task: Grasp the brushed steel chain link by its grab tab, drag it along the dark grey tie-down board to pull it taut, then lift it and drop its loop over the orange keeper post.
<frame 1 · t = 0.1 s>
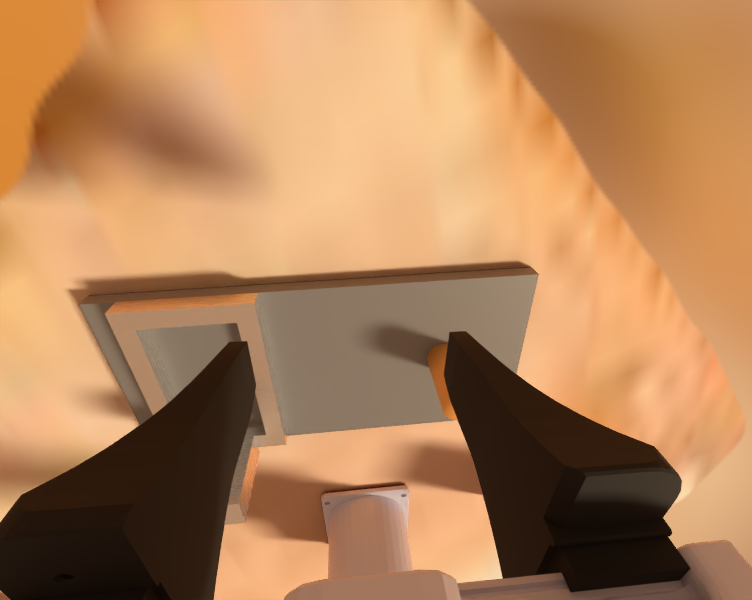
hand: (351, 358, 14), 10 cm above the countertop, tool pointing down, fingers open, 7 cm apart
steel link: (213, 375, 25), point 1 cm above the countertop, touching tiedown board
keeper post: (440, 347, 27), resting on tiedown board
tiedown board: (327, 359, 26), on the countertop
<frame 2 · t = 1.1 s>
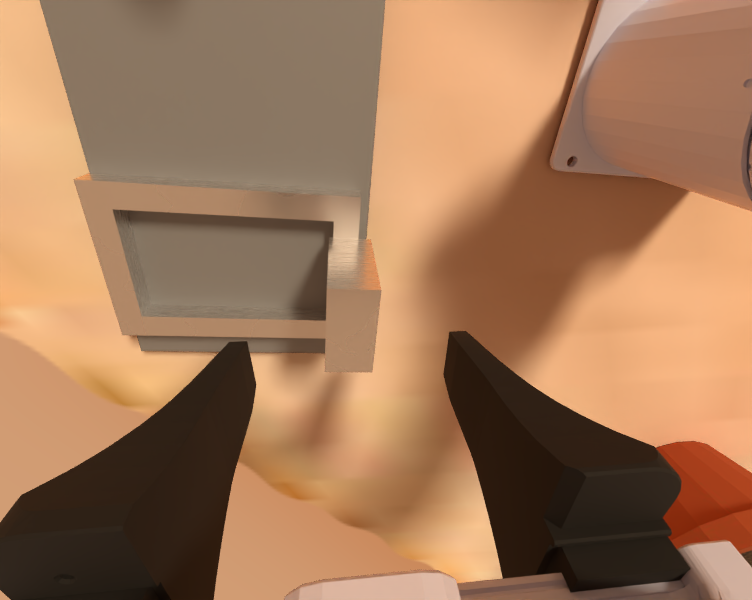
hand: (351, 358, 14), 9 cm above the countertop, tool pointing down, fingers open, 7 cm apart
steel link: (238, 260, 19), point 1 cm above the countertop, touching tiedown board
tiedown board: (233, 95, 17), on the countertop
potted plant: (660, 476, 36), on the countertop
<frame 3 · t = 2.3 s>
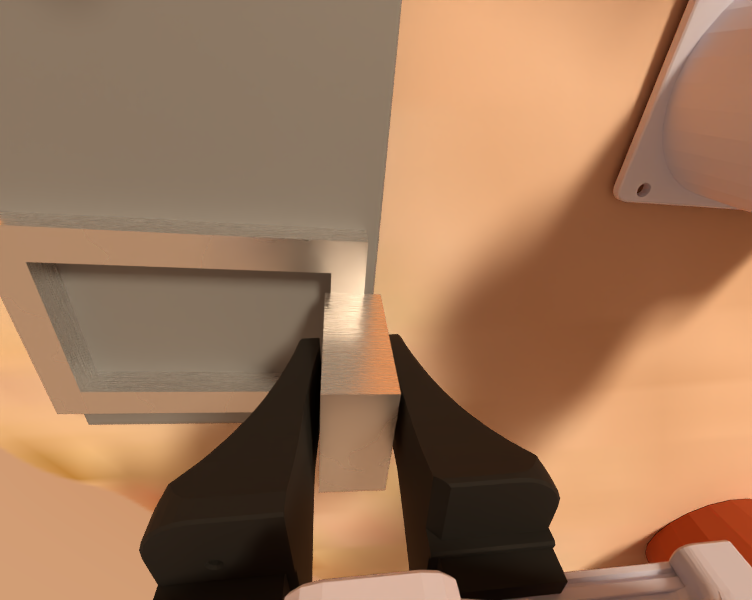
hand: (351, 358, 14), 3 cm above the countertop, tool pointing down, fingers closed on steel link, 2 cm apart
steel link: (207, 318, 15), point 1 cm above the countertop, touching gripper, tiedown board
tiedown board: (192, 105, 12), on the countertop
potted plant: (705, 534, 31), on the countertop
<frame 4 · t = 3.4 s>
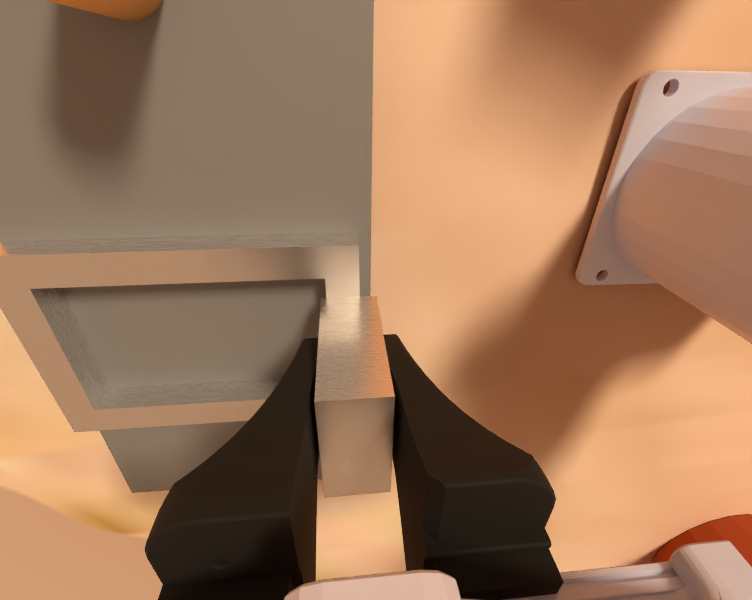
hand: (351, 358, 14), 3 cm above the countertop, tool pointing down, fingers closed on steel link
steel link: (210, 330, 15), point 1 cm above the countertop, touching gripper
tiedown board: (205, 244, 14), on the countertop
potted plant: (709, 547, 33), on the countertop
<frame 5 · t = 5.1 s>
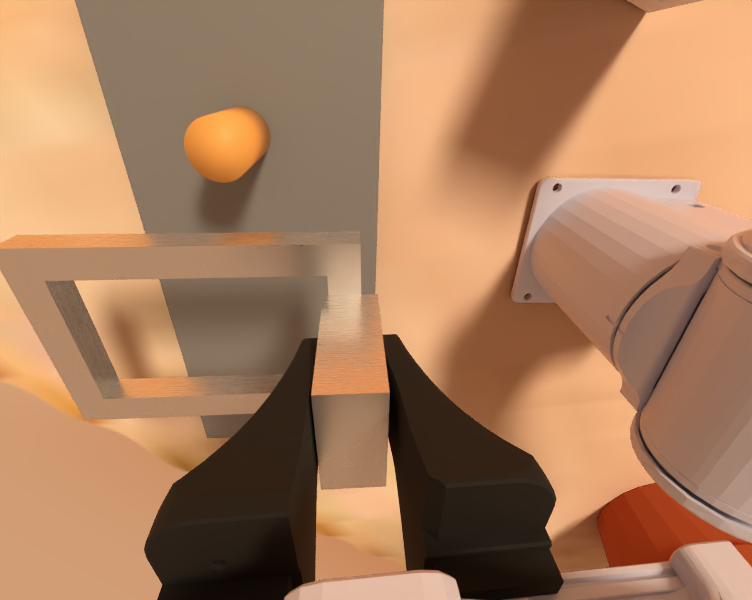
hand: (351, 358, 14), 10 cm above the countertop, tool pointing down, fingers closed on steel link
steel link: (215, 324, 16), point 8 cm above the countertop, touching gripper
keeper post: (249, 131, 19), resting on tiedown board
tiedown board: (272, 273, 23), on the countertop
potted plant: (644, 510, 41), on the countertop
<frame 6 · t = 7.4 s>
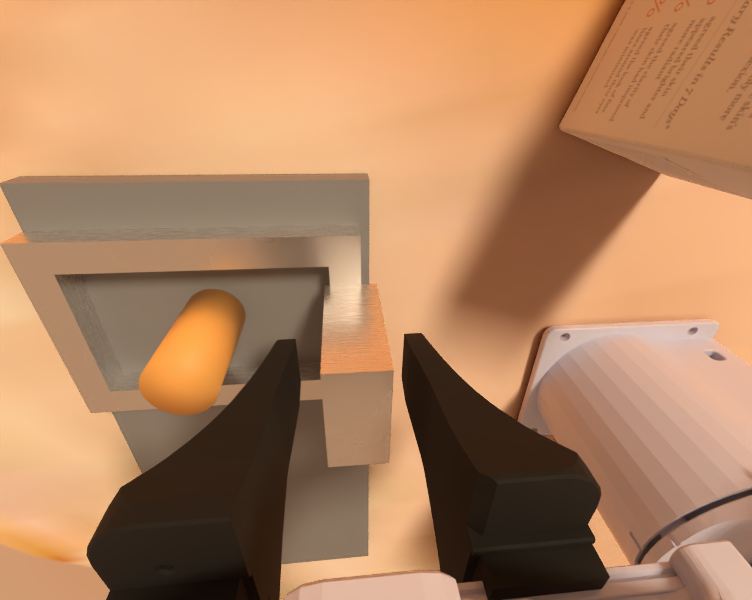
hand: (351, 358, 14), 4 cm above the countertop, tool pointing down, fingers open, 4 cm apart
steel link: (219, 316, 16), point 1 cm above the countertop, touching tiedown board
small box: (673, 39, 13), on the countertop
keeper post: (222, 301, 17), resting on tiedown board
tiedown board: (255, 423, 21), on the countertop
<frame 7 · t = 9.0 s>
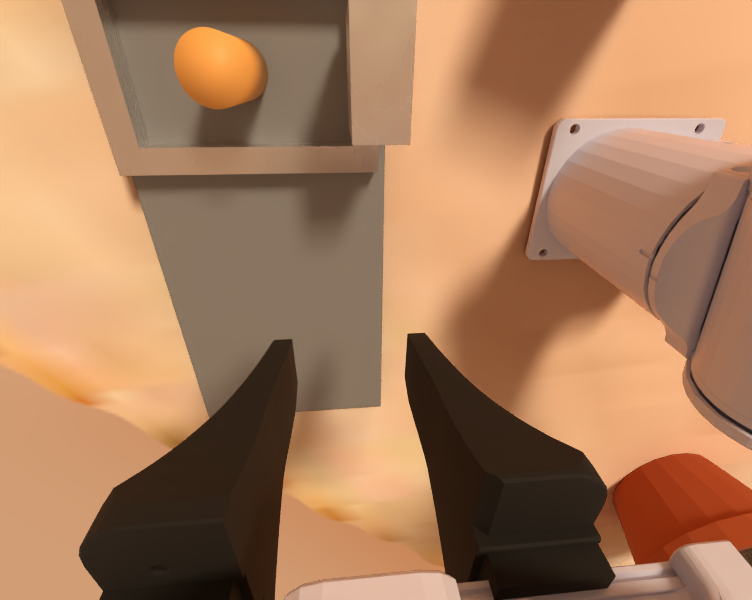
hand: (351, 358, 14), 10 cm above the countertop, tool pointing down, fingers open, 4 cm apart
steel link: (243, 75, 17), point 1 cm above the countertop, touching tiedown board
keeper post: (245, 71, 18), resting on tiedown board
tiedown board: (273, 233, 22), on the countertop
potted plant: (661, 484, 40), on the countertop
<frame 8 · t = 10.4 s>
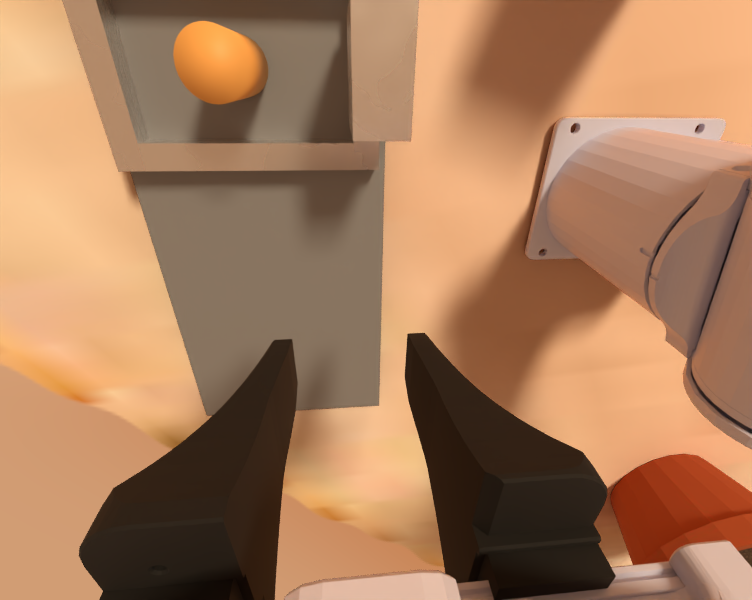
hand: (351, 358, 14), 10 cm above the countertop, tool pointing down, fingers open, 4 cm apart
steel link: (243, 71, 17), point 1 cm above the countertop, touching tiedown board
keeper post: (245, 67, 17), resting on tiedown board
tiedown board: (272, 231, 22), on the countertop
potted plant: (658, 485, 40), on the countertop
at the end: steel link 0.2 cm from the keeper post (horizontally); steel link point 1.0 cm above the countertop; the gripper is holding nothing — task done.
